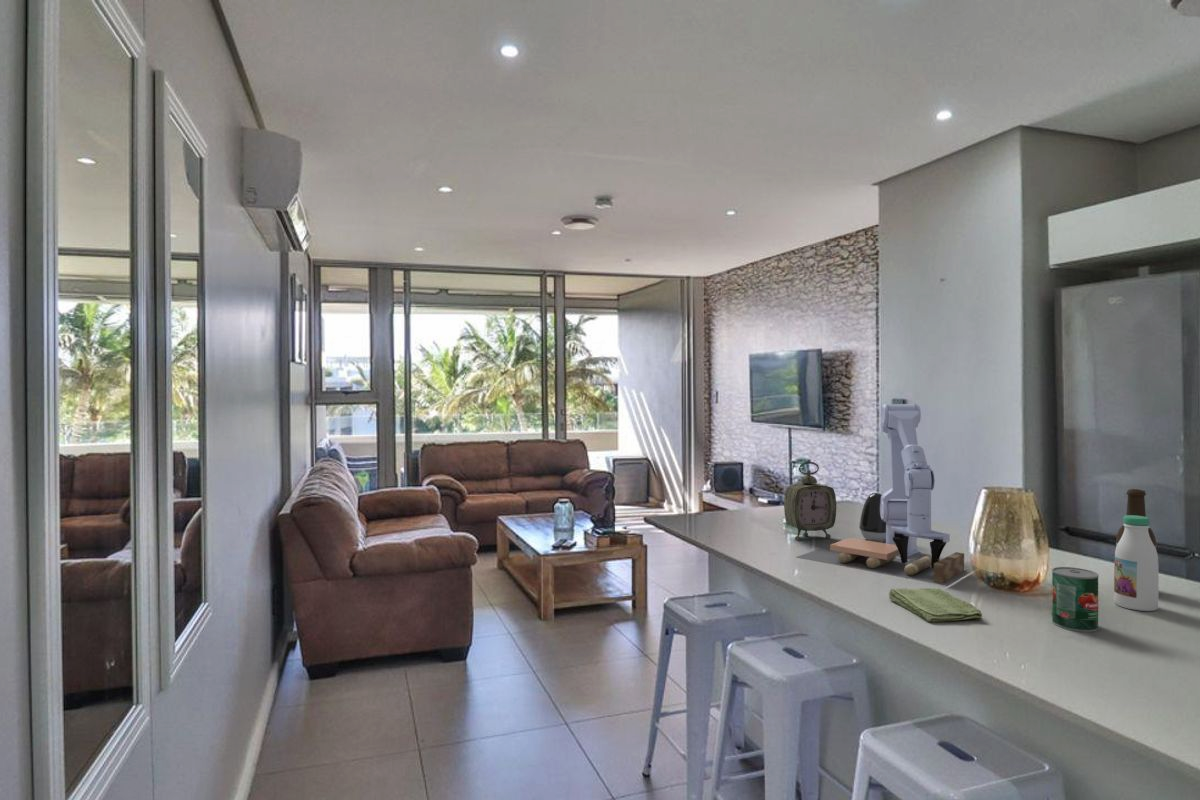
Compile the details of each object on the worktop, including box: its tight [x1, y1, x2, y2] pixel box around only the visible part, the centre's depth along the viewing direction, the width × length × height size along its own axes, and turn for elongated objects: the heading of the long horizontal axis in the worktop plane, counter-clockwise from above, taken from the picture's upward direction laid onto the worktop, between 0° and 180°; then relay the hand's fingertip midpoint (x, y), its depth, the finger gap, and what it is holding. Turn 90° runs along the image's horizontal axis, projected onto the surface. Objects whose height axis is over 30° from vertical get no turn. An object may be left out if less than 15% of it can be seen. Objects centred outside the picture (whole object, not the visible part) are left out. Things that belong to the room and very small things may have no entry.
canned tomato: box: [1051, 566, 1099, 633], centre depth 141 cm, size 8×8×11 cm
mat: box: [796, 545, 968, 586], centre depth 189 cm, size 18×40×1 cm, turn 45°
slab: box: [829, 537, 900, 560], centre depth 191 cm, size 12×16×2 cm
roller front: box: [866, 556, 897, 569], centre depth 188 cm, size 14×3×3 cm, turn 135°
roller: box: [904, 555, 932, 576], centre depth 181 cm, size 13×3×3 cm, turn 135°
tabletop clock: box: [783, 461, 837, 541], centre depth 222 cm, size 14×9×25 cm, turn 102°
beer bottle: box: [1115, 488, 1157, 549], centre depth 164 cm, size 8×8×24 cm
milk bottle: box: [1113, 515, 1160, 612], centre depth 152 cm, size 8×8×20 cm
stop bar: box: [934, 551, 965, 583], centre depth 176 cm, size 16×2×5 cm, turn 135°
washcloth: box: [888, 587, 983, 623], centre depth 152 cm, size 13×18×3 cm
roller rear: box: [838, 552, 862, 563], centre depth 193 cm, size 14×3×3 cm, turn 135°
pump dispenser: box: [858, 492, 886, 543], centre depth 218 cm, size 10×10×15 cm
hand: (919, 565), depth 181 cm, fingers open, 7 cm apart
